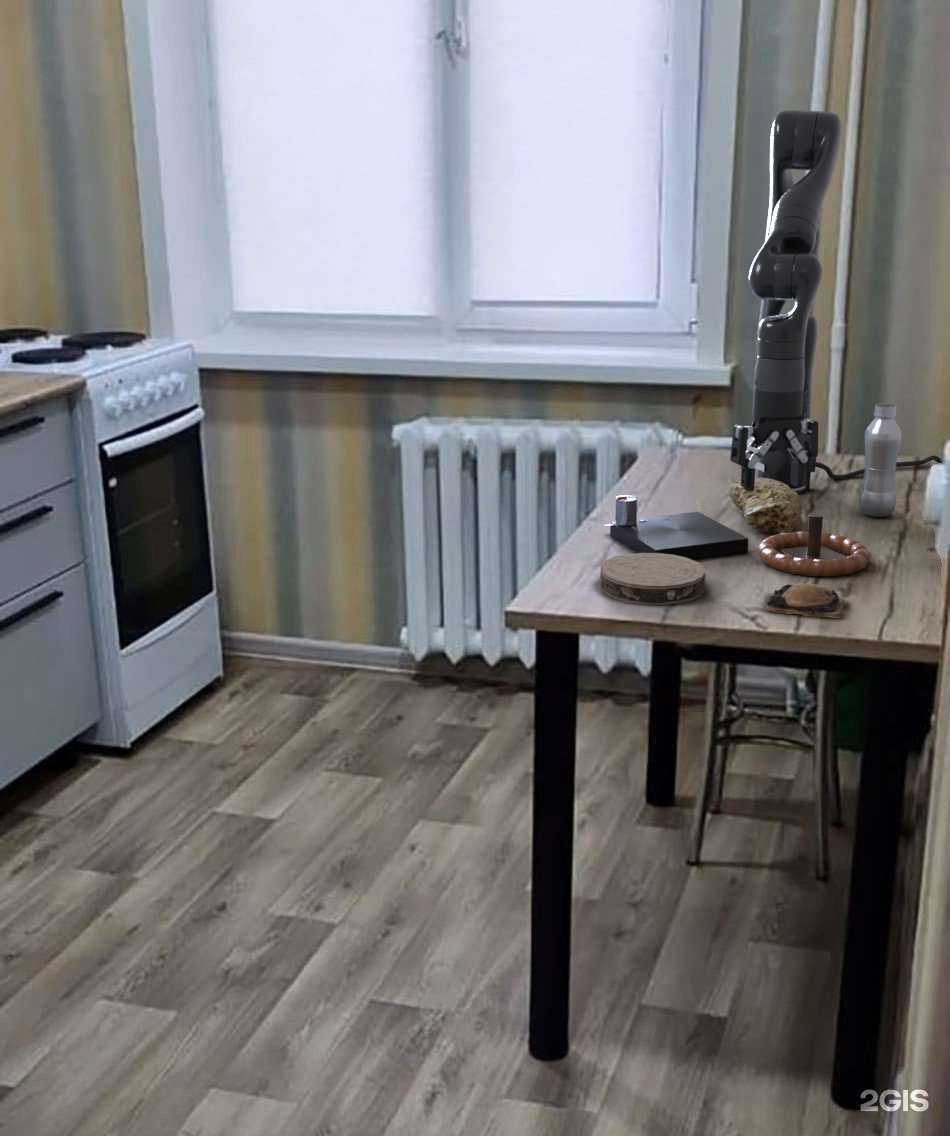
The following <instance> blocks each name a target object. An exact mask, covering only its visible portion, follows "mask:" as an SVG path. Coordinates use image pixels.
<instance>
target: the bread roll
mask: <svg viewBox="0 0 950 1136" xmlns="http://www.w3.org/2000/svg"><path fill="white" fill-rule="evenodd" d="M845 602H846V601H845V598H843V597H840V596H839V595H838V593H837V592H836V591H835V590H831V589H829V588H828V587H826V586H823V585H820V584H819V585H818V584H815V583H807V582H801V583H800V582H799V583H796V584H789V583H787V584H785V585H783V586H781V588H779V589H776V590H774V592H773V593H772V595H771V596H769V599H768V601H767V602H766V605H767V606H766V607H765V610H766V612H773V613H774V612H775V613H777V614H780V613H781V614H787V615H791V614H792V615H794V614H797V615H801V616H804V617H824V618H825V617H826V618H832V619H839V618H840V617H841V614H842V611H843V608H844V605H845Z"/></svg>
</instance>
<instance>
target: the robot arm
mask: <svg viewBox="0 0 950 1136" xmlns="http://www.w3.org/2000/svg"><path fill="white" fill-rule="evenodd" d="M842 126H843V125H842V120H841V118H840V116H839V114H837V113H834V112H831V111H824V110H823V111H822V110H804V109H803V110H802V109H800V110H799V109H784V110H780V111H779V112H778V113H777V114H776V115H775V117H774V120H773V122H772V126H771V132H770V139H769V140H770V141H769V142H770V143H769V201H768V202H769V203H768V205H769V206H768V211H767V221H766V231H765V240H764V243H763V245H762V247H761V248H760V249H759V251H758V252H757V254H756V256H755V257H754V259H753V261H752V264H751V266H750V269H749V273H748V285H749V288H750V289H749V290H750V291H751V293H752V294H753V295H754V296H755V297H756V298H758V299H760V300H761V304H760V310H759V311H760V312H759V319H758V325H757V333H756V353H757V355H756V360H755V366H754V367H755V368H754V377H753V393H752V394H753V395H752V409H751V410H752V411H751V412H752V418H753V419H752V422H751V425H741V424H738V423H736V424H734V426H733V428H732V430H733V431H732V440H731V446H730V448H731V449H730V457H729V460H730V462H732V463H733V464H736V465H739V466H740V468H741V470H740V480H741V486H743V488H744V489H745V490H747V491H754V484H755V478H768V479H772V480H776V481H779V482H782V483H784V484H786V485H788V486H789V487H790V489H791V490H793V491H795V492H797V494H799V493H802V492H805V491H806V490H811V489H810V488H811V476H812V475H811V473H816V468H819V469H822V470H824V471H825V472H826V475H827V476H828V477H829V478H830V479H831V480H835V481H837V480H839V481H840V480H845V479H851V478H853V477H857V476H861V475H864V473H865V468H861V469H858V470H853V471H850V472H847V473H844V474H836V473H833V471H832V469H831V468H830V467H829V466H828V465H827V464H825V463H822V462H818V461H817V458H818V455H819V422H818V421H817V420H815V419H812V418H811V411H812V399H813V398H812V397H813V379H814V368H815V359H816V351H817V346H818V335H819V326H818V322H817V319H816V317H815V316H814V315H813V314H811V311H812V308H813V304H814V302H815V299H816V296H817V294H818V291H819V289H820V285H821V283H822V280H823V265H822V263H821V261H820V259H819V254H820V253H819V252H820V244H821V242H820V241H821V228H820V224H819V221H820V217H821V216H820V215H821V212H822V211H821V210H822V207H823V204H824V201H825V199H826V196H827V193H828V190H829V188H830V186H831V183H832V179H833V175H834V173H835V169H836V165H837V163H838V160H839V155H840V151H841V145H842V136H843V135H842V134H843V127H842ZM792 170H795V171H797V170H799V171H808V172H807V173H806V174H805V175H804V176H803V177H802V178H801V179H799V180H798V181H797V182H796V183H795V180H794V177H793V172H792ZM787 301H788V302H789V301H790V302H791V301H793V302H795V304H794V306H793V308H792V309H791V310H790V311H788V312H785V313H781V311H782V309H783V308H784V306H785V304H786V303H787ZM751 436H752V440H751V441H750V442H749V444H748V440H750V438H751ZM931 461H935V462H936V463H937V464H942V463H943V460H942V459H941V458H940V457H939V456H938V455H933V454H932V455H930V456H927V457H925V458H923V459H920V460H909V461H897V463H896V468H901V467H914V466H915V467H916V466H922V465H925V464H927V463H929V462H931Z"/></svg>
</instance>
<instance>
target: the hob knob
mask: <svg viewBox="0 0 950 1136" xmlns="http://www.w3.org/2000/svg"><path fill="white" fill-rule="evenodd" d="M637 519H638V497H637V496H635V495H629V494H622V495H618V496H615V518H614V521H615V523H616V524H617V525H620V526H633V525H636V523H637Z"/></svg>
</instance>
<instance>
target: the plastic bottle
mask: <svg viewBox="0 0 950 1136" xmlns="http://www.w3.org/2000/svg"><path fill="white" fill-rule="evenodd" d="M873 416H874V419H873V420H872V421H871V422H870V423H869V425H868V426H867V428H866V430H865V431H864V453H865V455H864V457H865V458H864V461H865V462H864V464H865V465H864V469H865V473H864V474H863V479H862V484H861V485H862V486H861V489H860V492H859V497H858V508H859V510H860V512H861V514H864V515H866V516H870V517H888V516H891V515H892V514H893V512H894V511H895V509H896V505H897V494H896V469H897V467H896V463H897V462H898V456H899V452H900V447H901V443H902V438H903V435H902V431H901V428H900V426H899V425H898V423H897V422H896V420H895V418H896V417H897V405H896V404H894V403H887V402H884V403H882V402H881V403H876V404H875V405H874V412H873Z"/></svg>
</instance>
